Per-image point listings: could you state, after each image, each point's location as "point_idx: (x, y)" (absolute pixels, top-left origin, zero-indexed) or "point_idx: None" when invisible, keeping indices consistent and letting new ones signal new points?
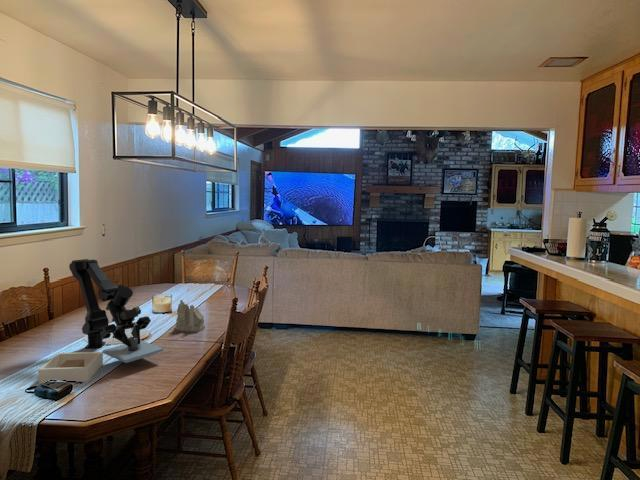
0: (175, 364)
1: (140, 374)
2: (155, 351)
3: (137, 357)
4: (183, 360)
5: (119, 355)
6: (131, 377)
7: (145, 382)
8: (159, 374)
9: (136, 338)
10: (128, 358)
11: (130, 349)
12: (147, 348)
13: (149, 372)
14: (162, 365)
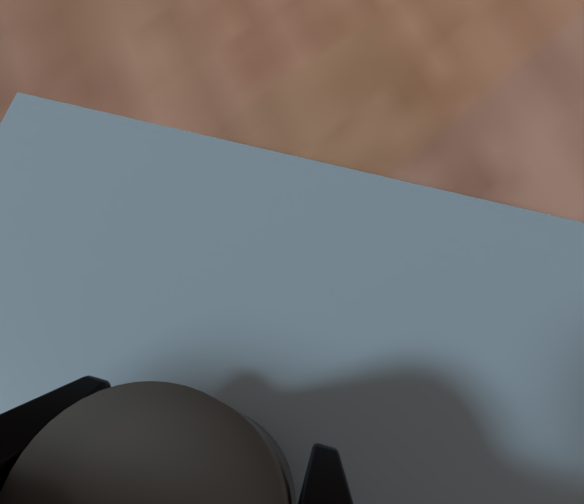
0: (132, 37)
1: (474, 150)
2: (139, 124)
3: (427, 194)
4: (18, 36)
5: (563, 494)
6: (574, 174)
7: (573, 4)
8: (385, 13)
9: (111, 415)
10: (566, 240)
11: (291, 483)
12: (78, 293)
13: (393, 111)
14: (196, 119)
